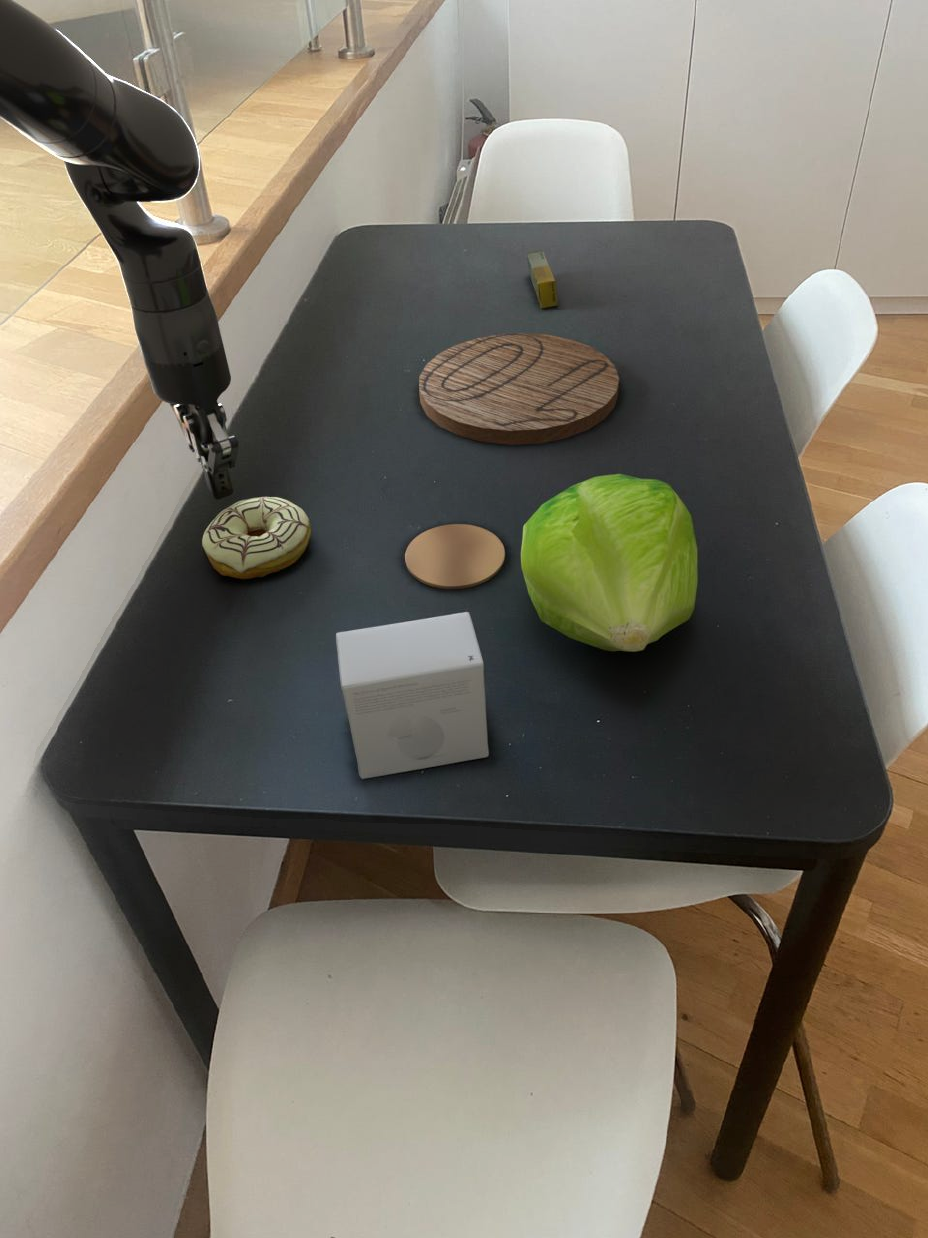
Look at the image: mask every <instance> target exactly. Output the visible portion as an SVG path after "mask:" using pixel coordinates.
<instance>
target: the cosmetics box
mask: <svg viewBox="0 0 928 1238" xmlns="http://www.w3.org/2000/svg"><path fill="white" fill-rule="evenodd" d="M335 643H336V652H337V661H338V670H339V671H338V672H339V680H340V687H341V691H342V695H343V700H344V704H345V709H346V714H347V718H348V723H349V728H350V733H351V739H352V743H353V748H354V753H355V757H356V761H357V769H358V770H357V771H358V776H359V778H361V780H364V779H365V780H366V779H371V778H377V777H382V776H388V775H394V774H399V773H405V772H410V771H416V770H422V769H427V768H432V767H433V768H434V767H438V766H446V765H450V764H455V763H461V762H467V761H472V760H478V759H485V758H488V757H489V755H490V754H489V753H490V752H489V743H488V741H489V740H488V739H489V738H488V725H487V723H488V722H487V705H486V688H485V687H486V686H485V674H484V671H485V670H484V669H485V668H484V660H483V657H482V652H481V649H480V645H479V642H478V639H477V634H476V631H475V628H474V623H473V620H472V617H471V614H470V612H468V611H464V612H458V613H451V614H446V615H439V616H434V617H428V618H421V619H414V620H409V621H404V622H403V621H402V622H396V623H390V624H389V623H388V624H384V625H377V626H369V627H365V628H359V629H352V630H347V631H338V632H336V634H335Z"/></svg>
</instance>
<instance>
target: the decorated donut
mask: <svg viewBox="0 0 928 1238" xmlns="http://www.w3.org/2000/svg"><path fill="white" fill-rule="evenodd" d="M311 532H312V528H311V524H310V519H309V517H308V515H307V514H306V512H305V511H304V510H303V509H302V508H301V507H299V506H298V505H296V504H294V503H293V502H291V501H290V500H287V499H284V498H282V497H278V496H271V497H270V496H260V497H252V498H247V499H242V500H239V501H237V502H235V503H233V504H232V505H230V506H228V507H226V508H224V509H223V510H222V511H220V512H219V513H218V514H217V515H216V516H215V518H214V519H213V520H211V522H210V524H208V526H207V528H205V531H204V533H203V536H202V538H201V541H202V542H201V545H202V548H203V550H204V552H205V555H206V557H207V558H208V561H209V563H210V564H211V567H213V569H214V570H216V572H218V574H220V575H221V576H224V577H230V578H234V579H241V580H249V579H254V578H263V577H266V576H267V575H270V574H272V573H273V574H274V573H278V572H279V571H282V570H284V569H286V568H288V567H290V566H292V565H293V564H295V563H296V562H297V561H298V560H299V559H300V558H301V557H302V555H303V554H304V553H305V550H306V549H307V547H308V544H309V540H310V538H311Z"/></svg>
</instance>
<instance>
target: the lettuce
mask: <svg viewBox="0 0 928 1238" xmlns="http://www.w3.org/2000/svg"><path fill="white" fill-rule="evenodd" d="M520 566H521V567H520V568H521V571H522V574H523V579H524V582H525V586H526V589H527V593H528V597H529V598H530V600H531V602H532V605H533V607H534V609H535V611H536V613H537V615H538V617H539V620H540V621H541V622H542V623H543V624H546V625H548V626H549V627H551V629H555V631H557V632H559V633H560V634H563V635H564V636H565V637H567V638H569V639H571V640H574V641H577V642H580V643H583V644H586V645H589V646H592V647H594V648H597V649H600V650H602V651H608V652H620V651H621V652H633V653H635V652H640V651H644V650H645V649H646V646H647V645H648V644H652V643H654V642H657V641H658V640H659V639H660V638H662V637H663V636H664V635H666V634H667V633H669V632H670V631H672V630H674V629H675V628H677V627H678V626H680V625H682V624H684V623H685V622H687V621H688V620H690V618H691V616H692V615H693V612H694V609H695V604H696V597H697V590H698V589H697V588H698V580H699V579H698V546H697V541H696V534H695V530H694V524H693V519H692V514H691V513H690V511H689V509H688V508H687V506H686V505H685V502H684V501H683V500H682V499H681V497H679V495H678V494H677V493H676V491H675V490H674V489H673V488H672V486H671V485H670V484H669V483H667V482H664V481H663V480H660V479H657V478H640V477H639V478H638V477H634V476H631V475H626V474H623V473H616V474H606V475H598V476H594V477H591V478H588V479H586V480H584V481H581V482H578V483H576V484H573V485H572V486H571V485H570V487H568V488H566V489H565V490H563V491H561V492H560V493H558V494H556V495H555V496H553V497H551V498H550V499H549V500H547V501H545V502H544V503H543V504H541V505H540V506H539V508H537V510H536V511H535V512H534V513H533V514H532V515H531V517H530V518H528V520H527V521H526V522H525V523H524V524H523V527H522V539H521V549H520Z"/></svg>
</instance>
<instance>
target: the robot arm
mask: <svg viewBox="0 0 928 1238" xmlns="http://www.w3.org/2000/svg"><path fill="white" fill-rule="evenodd" d="M0 120H2V121H3V122H5V123H6V124H7V125H9V126H10V127H12V128H13V129H15V130H16V131H17V132H19V133H20V134H22V135H23V136H24V137H26V138H27V139H29V140H31V141H32V142H34V143H35V144H37V145H38V146H40V147H41V148H43V149H44V150H45V151H47V152H48V153H50V154H52V155H54V156H55V157H57V158H58V159H60V160H63V163H64V167H65V170H66V173H67V175H68V177H69V180H70V182H71V184H72V186H73V188H74V190H75V191H76V193H77V196H78V197H79V198H80V200H81V202H82V203H83V205H84V207H85V208H86V210H87V212H88V213H89V215H90V217H91V219H92V220H93V222H94V223H95V225H96V227H97V228H98V230H99V231H100V234H101V235H102V237H103V239H104V240H105V242H106V244H107V245H108V247H109V249H110V251H111V252H112V254H113V256H114V258H115V260H116V262H117V264H118V267H119V271H120V275H121V278H122V282H123V285H124V289H125V292H126V295H127V299H128V301H129V305H130V309H131V310H130V311H131V315H132V322H133V328H134V331H135V335H136V338H137V343H138V345H139V348H140V352H141V355H142V358H143V361H144V365H145V368H146V371H147V375H148V378H149V381H150V385H151V387H152V392H153V393H154V395H155V397H156V398H157V399H159V400H160V401H162V402H164V403H167V404H169V406H170V407H171V408H172V409H171V410H172V411H173V413H174V415H175V417H176V420H177V422H178V424H179V427H180V429H181V431H182V433H183V436H184V437H185V440H186V442H187V444H188V449H189V450H190V451H191V452H192V453H195V457H196V461H197V463H198V464H199V466H201V468H202V471H203V476H204V479H205V483H206V486H207V490H208V492H209V494H210V495H211V496H212V497H213V498H214V500H219V501H220V499H224V498H227V497H229V496H231V495H232V494H233V493H234V488H233V484H232V483H233V482H232V480H231V476H230V472H229V469H233V468H235V467H236V462H237V456H238V452H239V449H240V445H239V440H238V439H237V438H236V436H235V435H231V436H229V434H228V430H227V425H226V423H227V421H228V418H227V414H226V409H225V408H224V406H223V403H219V402H218V399H219V398H220V397H221V395H222V394H223V393H224V392H225V391H227V390H228V388H229V386H230V384H231V381H232V376H231V370H230V366H229V363H228V359H227V354H226V349H225V346H224V343H223V342H224V341H223V337H222V333H221V329H220V324H219V320H218V317H217V313H216V310H215V307H214V304H213V301H212V299H211V297H210V294H209V290H208V286H207V282H206V276H205V273H204V269H203V264H202V261H201V256H200V252H199V248H198V245H197V242H196V239H195V236H194V235H193V234H192V232H191V231H190V230H189V229H188V228H187V227H185V226H183V225H180V224H179V223H176V222H171V221H168V220H164V219H161V218H159V217H156V216H153V215H152V214H151V213H149V212H148V211H146V209H145V208H144V207H143V206H142V205H141V203H168V202H169V203H170V202H175V201H178V200H181V199H183V198H184V197H185V196H187V195H188V194H189V193H190V192H191V191H192V189H193V188H194V187H195V186H196V183H197V180H198V178H199V174H200V167H201V165H200V152H199V148H198V145H197V142H196V139H195V137H194V135H193V132H192V131H191V129H190V127H189V126H188V124H187V123H186V121H185V120H184V118H183V117H182V116H181V115H180V114H179V113H178V112H177V111H176V110H175V109H174V108H173V107H172V106H170V105H169V104H167V103H166V102H165V101H164V100H162V99H160V98H158V97H157V96H154V95H152V94H150V93H149V92H146V91H144V90H142V89H140V88H139V87H136V86H134V85H132V84H131V83H128V82H127V81H124V80H121V79H118V78H116V77H114V76H111V75H109V74H107V73H105V71H104V70H103V69H102V68H101V67H100V66H99V65H97V64H96V63H95V62H94V61H93V60H92V59H91V58H90V57H89V56H88V55H87V54H85V52H83V51H82V50H81V49H80V48H79V47H78V46H77V45H76V44H75V43H73V42H72V41H71V40H70V39H69V38H68V37H66V36H65V35H63V33H62V32H60V31H59V30H57V28H55V27H54V26H52V25H51V24H50V23H48V22H46V20H43V18H42V17H39V16H38V15H36V14H35V13H34V12H32V11H30V10H29V9H27V8H26V7H23V5H21V4H19V3H18V2H16V1H15V0H0Z"/></svg>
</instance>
